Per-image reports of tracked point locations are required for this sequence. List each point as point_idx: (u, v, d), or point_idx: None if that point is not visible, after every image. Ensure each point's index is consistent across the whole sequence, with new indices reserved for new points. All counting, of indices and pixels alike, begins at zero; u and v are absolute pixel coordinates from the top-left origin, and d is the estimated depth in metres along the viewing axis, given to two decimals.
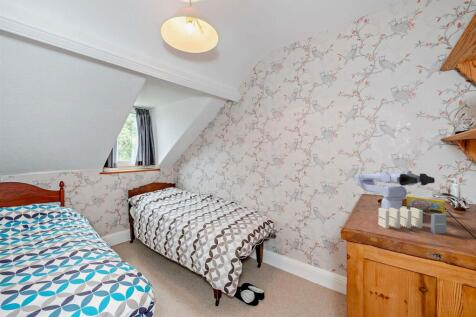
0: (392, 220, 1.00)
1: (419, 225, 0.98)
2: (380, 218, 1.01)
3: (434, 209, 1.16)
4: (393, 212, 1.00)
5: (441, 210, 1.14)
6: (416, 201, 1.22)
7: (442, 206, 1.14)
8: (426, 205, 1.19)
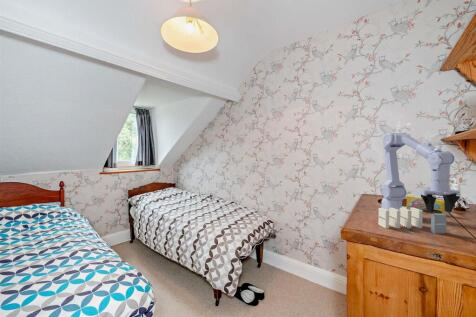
0: (392, 220, 1.00)
1: (419, 225, 0.98)
2: (380, 218, 1.01)
3: (434, 209, 1.16)
4: (393, 212, 1.00)
5: (441, 210, 1.14)
6: (416, 201, 1.22)
7: (442, 206, 1.14)
8: None
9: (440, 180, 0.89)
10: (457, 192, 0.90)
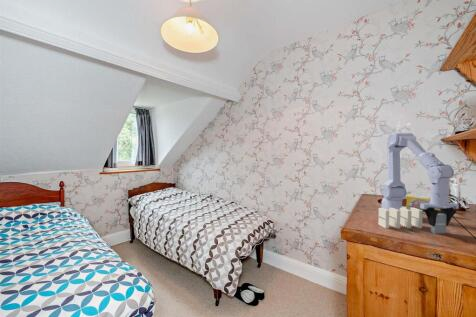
0: (392, 220, 1.00)
1: (419, 225, 0.98)
2: (380, 218, 1.01)
3: None
4: (393, 212, 1.00)
5: None
6: (416, 201, 1.22)
7: None
8: None
9: (440, 194, 0.89)
10: (456, 206, 0.91)
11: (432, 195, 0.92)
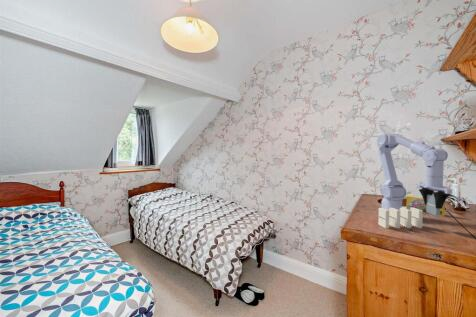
0: (392, 220, 1.00)
1: (419, 225, 0.98)
2: (380, 218, 1.01)
3: None
4: (393, 212, 1.00)
5: (441, 210, 1.14)
6: (416, 201, 1.22)
7: None
8: None
9: None
10: (445, 190, 0.89)
11: None
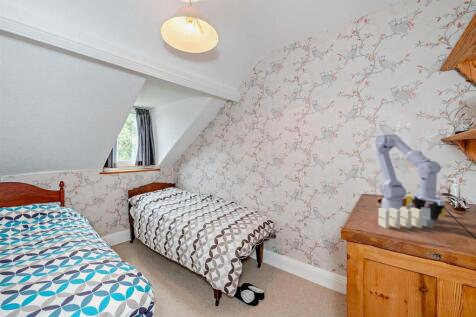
0: (392, 220, 1.00)
1: (419, 225, 0.98)
2: (380, 218, 1.01)
3: None
4: (393, 212, 1.00)
5: None
6: None
7: None
8: (426, 205, 1.19)
9: None
10: (438, 202, 0.93)
11: None
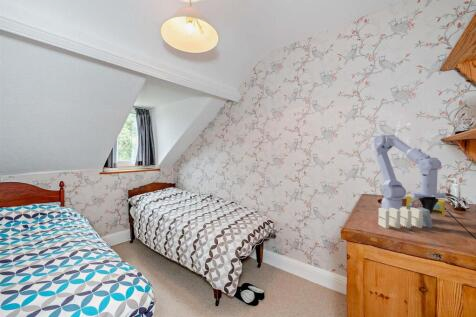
0: (392, 220, 1.00)
1: (419, 225, 0.98)
2: (380, 218, 1.01)
3: (434, 209, 1.16)
4: (393, 212, 1.00)
5: (441, 210, 1.14)
6: (416, 201, 1.22)
7: (442, 206, 1.14)
8: None
9: (428, 184, 0.97)
10: (444, 195, 0.99)
11: (422, 185, 1.00)
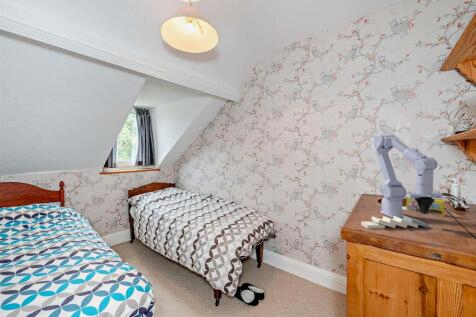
0: None
1: (415, 226, 0.98)
2: None
3: (434, 209, 1.16)
4: None
5: (441, 210, 1.14)
6: (416, 201, 1.22)
7: (442, 206, 1.14)
8: None
9: (424, 184, 0.97)
10: (440, 195, 0.99)
11: (418, 185, 1.00)
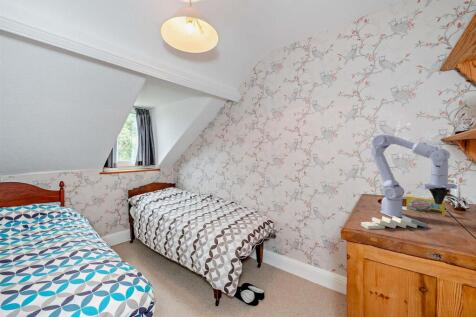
0: None
1: (414, 226, 0.98)
2: None
3: (434, 209, 1.16)
4: None
5: (441, 210, 1.14)
6: (416, 201, 1.22)
7: (442, 206, 1.14)
8: (426, 205, 1.19)
9: (439, 175, 0.98)
10: (455, 186, 0.99)
11: (432, 176, 1.00)
